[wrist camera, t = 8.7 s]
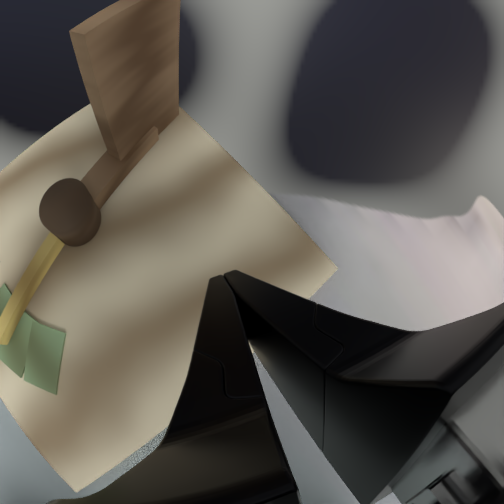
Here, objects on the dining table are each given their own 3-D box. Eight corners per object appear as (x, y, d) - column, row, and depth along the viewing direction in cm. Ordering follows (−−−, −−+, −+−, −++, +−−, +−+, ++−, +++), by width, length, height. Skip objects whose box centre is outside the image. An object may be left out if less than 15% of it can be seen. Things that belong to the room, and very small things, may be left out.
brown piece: (22, 357, 12) (-110, 352, 3) (-8, 325, 12) (-131, 294, 3) (190, 120, 18) (199, -15, 9) (156, 103, 18) (149, -24, 9)
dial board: (331, 272, 18) (339, 267, 17) (81, 486, 12) (75, 494, 11) (144, 82, 20) (143, 72, 19) (-56, 244, 14) (-65, 240, 13)
